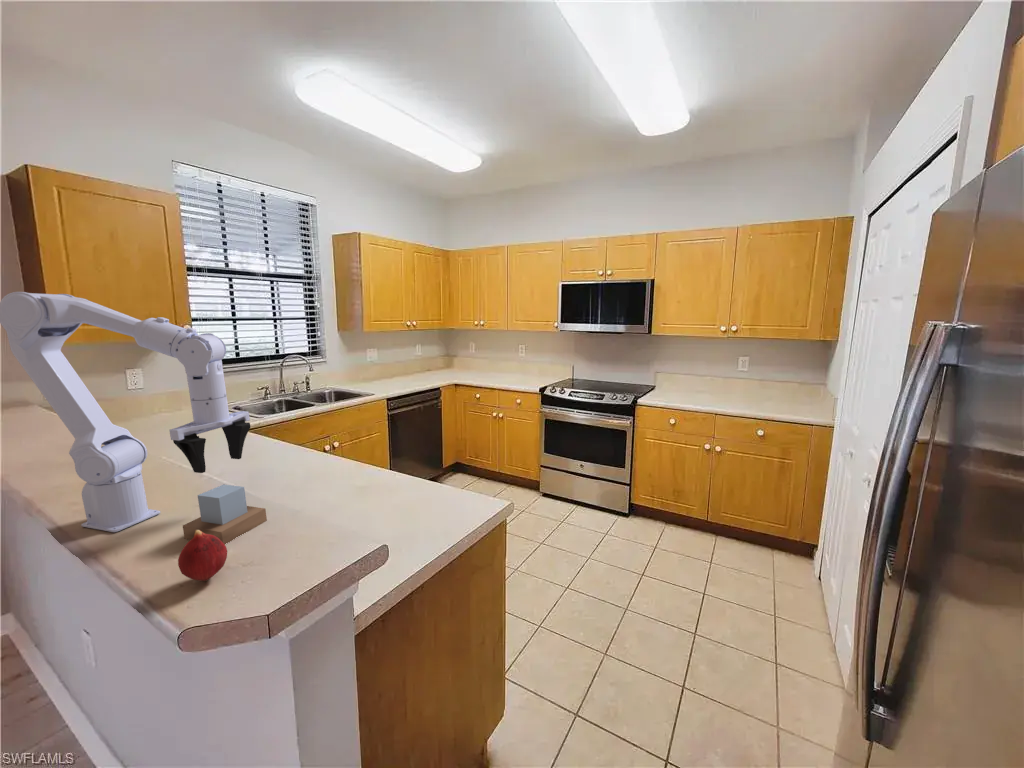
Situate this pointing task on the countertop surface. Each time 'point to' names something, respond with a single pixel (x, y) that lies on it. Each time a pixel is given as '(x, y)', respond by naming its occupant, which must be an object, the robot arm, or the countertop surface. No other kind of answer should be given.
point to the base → (227, 525)
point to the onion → (202, 556)
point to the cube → (222, 504)
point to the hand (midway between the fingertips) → (218, 465)
